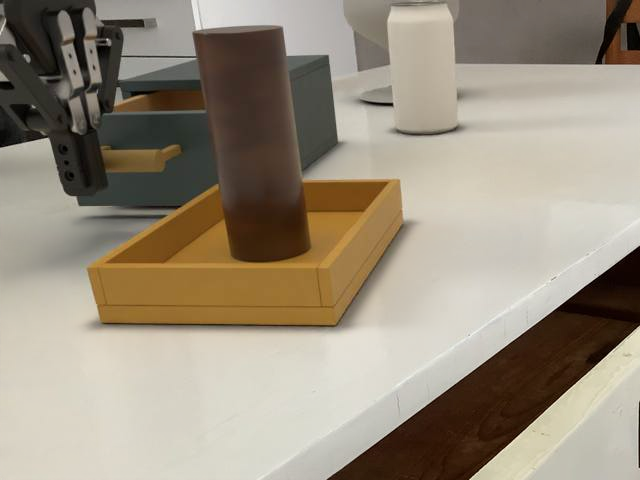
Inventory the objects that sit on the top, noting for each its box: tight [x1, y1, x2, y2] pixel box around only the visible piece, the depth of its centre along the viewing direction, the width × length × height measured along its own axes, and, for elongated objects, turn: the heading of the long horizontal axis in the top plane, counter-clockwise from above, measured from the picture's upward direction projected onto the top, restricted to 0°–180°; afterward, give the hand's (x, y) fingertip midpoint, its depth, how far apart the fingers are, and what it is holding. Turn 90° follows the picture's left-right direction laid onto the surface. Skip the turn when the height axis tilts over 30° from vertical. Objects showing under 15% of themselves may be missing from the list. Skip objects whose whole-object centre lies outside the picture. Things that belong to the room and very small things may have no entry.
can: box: [387, 1, 459, 135], centre depth 84 cm, size 6×6×12 cm
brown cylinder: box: [191, 24, 311, 262], centre depth 46 cm, size 5×5×12 cm
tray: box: [86, 178, 404, 326], centre depth 49 cm, size 12×17×3 cm
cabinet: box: [118, 54, 339, 172], centre depth 74 cm, size 16×13×8 cm
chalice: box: [342, 0, 461, 104], centre depth 103 cm, size 14×14×15 cm
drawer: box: [75, 90, 218, 207], centre depth 63 cm, size 19×11×6 cm, turn 174°
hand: (87, 193), depth 53 cm, fingers closed
